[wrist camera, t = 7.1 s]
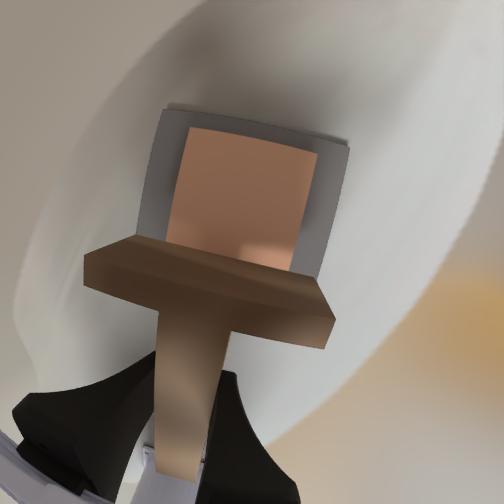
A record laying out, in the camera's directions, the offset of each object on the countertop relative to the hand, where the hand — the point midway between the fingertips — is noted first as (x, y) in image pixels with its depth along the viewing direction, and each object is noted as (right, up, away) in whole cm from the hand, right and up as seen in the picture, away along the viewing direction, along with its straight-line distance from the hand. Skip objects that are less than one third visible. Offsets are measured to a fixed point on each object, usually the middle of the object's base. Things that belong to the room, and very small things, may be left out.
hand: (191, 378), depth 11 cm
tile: (+1, +4, +5) cm, 6 cm away
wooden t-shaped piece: (0, -1, +3) cm, 4 cm away
